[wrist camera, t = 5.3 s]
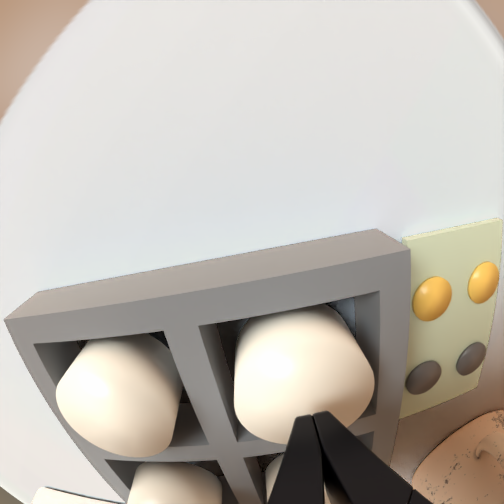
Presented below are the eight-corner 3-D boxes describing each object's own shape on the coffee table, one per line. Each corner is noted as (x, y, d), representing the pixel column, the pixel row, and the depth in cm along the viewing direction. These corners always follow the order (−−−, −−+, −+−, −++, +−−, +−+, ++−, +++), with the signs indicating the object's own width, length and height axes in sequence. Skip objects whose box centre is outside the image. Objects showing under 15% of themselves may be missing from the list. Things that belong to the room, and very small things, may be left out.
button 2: (350, 380, 11) (371, 427, 9) (247, 401, 11) (249, 452, 9) (346, 287, 10) (376, 326, 7) (223, 311, 10) (218, 358, 8)
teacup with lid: (503, 445, 16) (560, 534, 5) (410, 501, 17) (450, 607, 6) (522, 350, 13) (633, 467, 1) (394, 433, 14) (470, 610, 2)
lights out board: (460, 424, 14) (477, 450, 12) (147, 485, 14) (140, 517, 12) (496, 206, 10) (537, 218, 8) (37, 291, 11) (3, 319, 8)
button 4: (196, 407, 11) (189, 457, 9) (109, 410, 11) (90, 454, 9) (164, 320, 10) (144, 366, 8) (68, 332, 10) (36, 371, 8)
